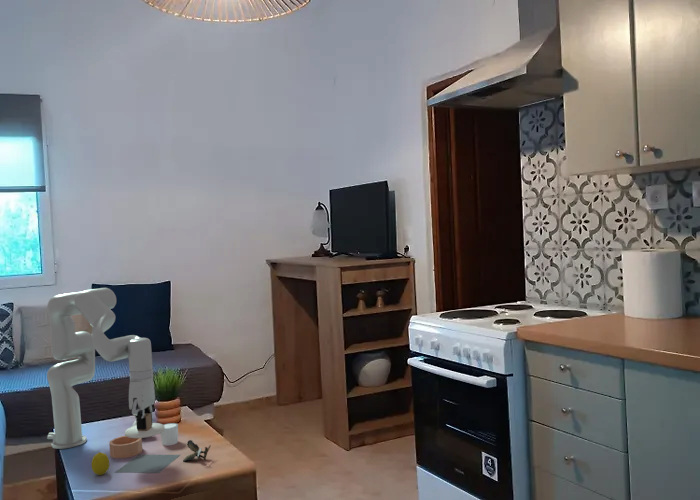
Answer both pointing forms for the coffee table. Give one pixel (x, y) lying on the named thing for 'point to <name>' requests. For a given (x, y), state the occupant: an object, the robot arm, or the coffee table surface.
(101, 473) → the lemon
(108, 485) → the coffee table surface
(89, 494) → the coffee table surface
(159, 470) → the mat
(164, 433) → the shot glass
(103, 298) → the robot arm
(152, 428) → the lid
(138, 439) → the bowl
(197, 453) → the eagle figurine
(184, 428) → the coffee table surface
